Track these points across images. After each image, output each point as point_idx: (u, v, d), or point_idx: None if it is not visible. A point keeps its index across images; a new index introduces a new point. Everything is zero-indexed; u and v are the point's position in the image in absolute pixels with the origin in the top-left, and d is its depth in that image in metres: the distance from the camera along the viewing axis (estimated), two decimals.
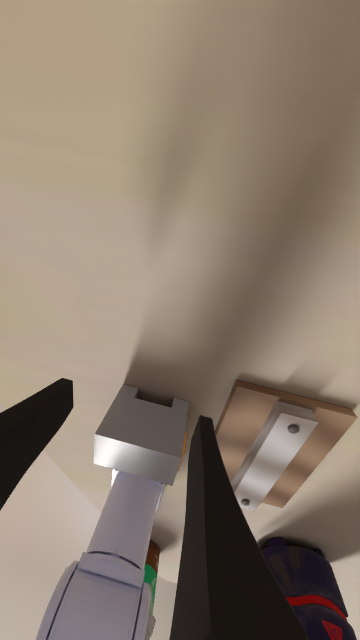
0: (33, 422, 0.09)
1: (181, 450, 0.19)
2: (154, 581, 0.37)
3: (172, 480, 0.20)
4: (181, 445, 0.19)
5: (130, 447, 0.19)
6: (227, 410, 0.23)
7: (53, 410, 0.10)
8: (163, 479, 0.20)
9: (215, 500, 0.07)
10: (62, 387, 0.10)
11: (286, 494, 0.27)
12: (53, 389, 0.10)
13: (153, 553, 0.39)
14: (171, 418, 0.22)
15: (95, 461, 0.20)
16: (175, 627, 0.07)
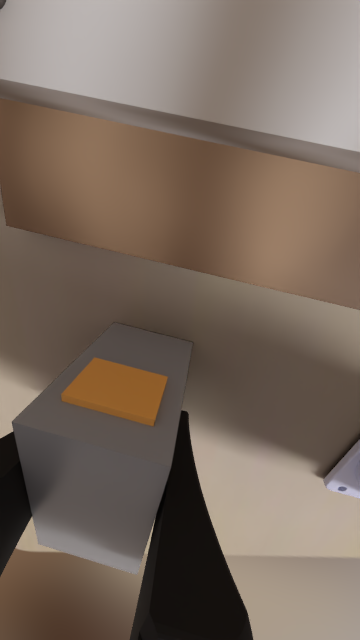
0: None
1: (31, 405, 0.06)
2: None
3: (138, 461, 0.06)
4: None
5: (41, 508, 0.08)
6: (82, 241, 0.09)
7: None
8: (141, 481, 0.06)
9: (178, 489, 0.07)
10: None
11: None
12: None
13: None
14: None
15: (128, 570, 0.09)
16: (136, 614, 0.07)
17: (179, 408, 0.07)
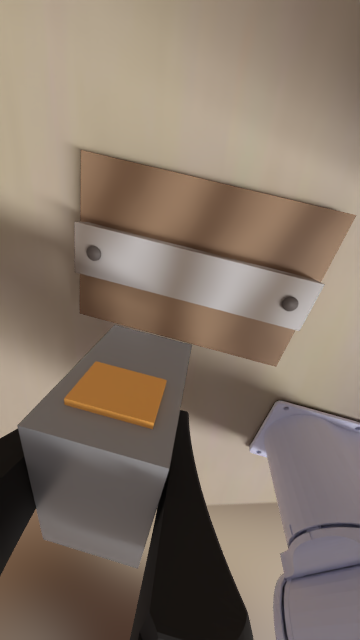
0: None
1: (36, 408, 0.07)
2: None
3: (138, 463, 0.06)
4: None
5: (46, 506, 0.08)
6: (116, 322, 0.19)
7: None
8: (140, 481, 0.06)
9: (178, 489, 0.07)
10: None
11: (300, 216, 0.13)
12: None
13: None
14: None
15: (129, 564, 0.09)
16: (136, 614, 0.07)
17: (177, 411, 0.07)
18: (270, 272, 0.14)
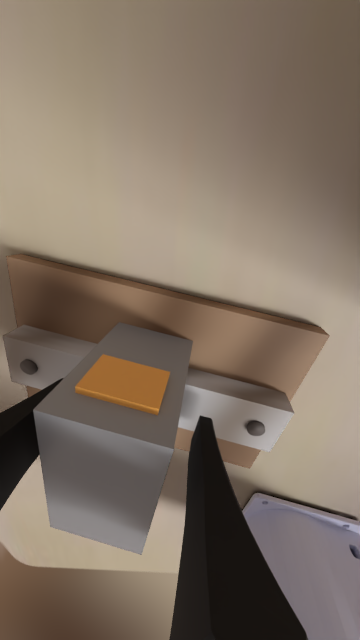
0: (33, 422, 0.09)
1: (49, 396, 0.07)
2: None
3: (145, 444, 0.06)
4: None
5: (55, 491, 0.08)
6: None
7: None
8: (147, 462, 0.07)
9: (215, 500, 0.07)
10: None
11: (264, 333, 0.11)
12: None
13: None
14: None
15: (133, 551, 0.10)
16: (175, 627, 0.07)
17: (180, 400, 0.08)
18: (230, 397, 0.11)
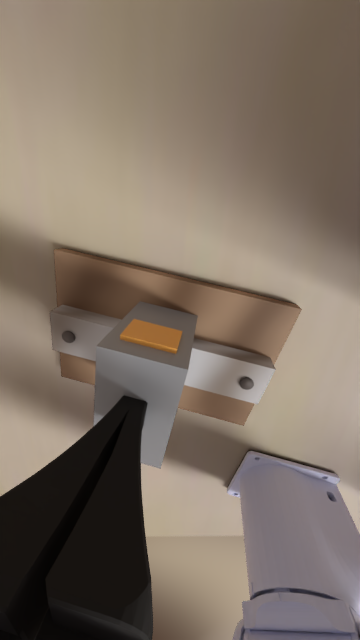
0: (111, 444, 0.09)
1: (103, 340, 0.11)
2: None
3: (169, 367, 0.10)
4: None
5: (101, 414, 0.12)
6: None
7: None
8: (169, 382, 0.10)
9: (115, 471, 0.07)
10: (129, 405, 0.10)
11: (252, 308, 0.15)
12: (122, 408, 0.10)
13: None
14: None
15: (154, 465, 0.13)
16: None
17: (190, 347, 0.11)
18: (226, 358, 0.15)
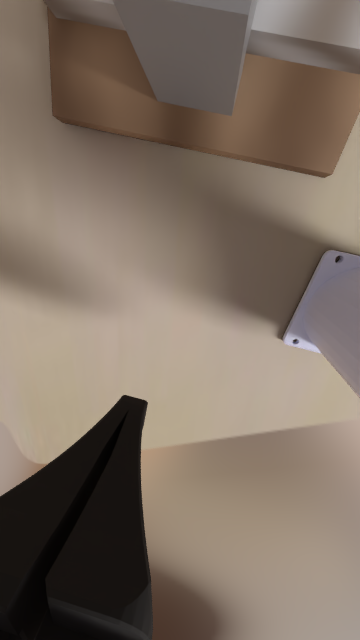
0: (111, 444, 0.09)
1: None
2: None
3: None
4: None
5: None
6: (104, 125, 0.13)
7: None
8: None
9: (115, 471, 0.07)
10: (129, 405, 0.10)
11: None
12: (122, 408, 0.10)
13: None
14: None
15: (237, 4, 0.06)
16: None
17: None
18: None
